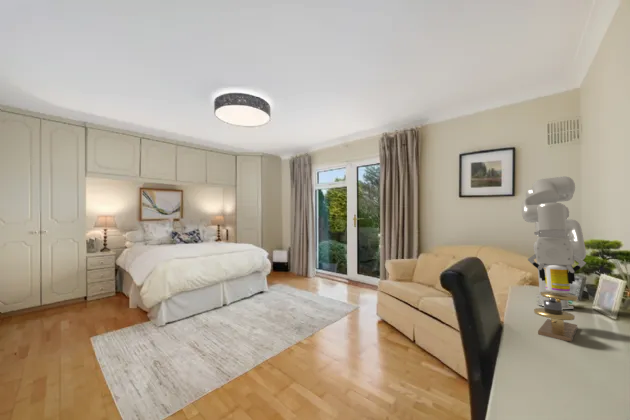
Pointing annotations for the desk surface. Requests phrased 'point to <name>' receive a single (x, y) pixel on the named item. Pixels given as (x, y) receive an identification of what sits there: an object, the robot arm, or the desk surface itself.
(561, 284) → the supplement bottle
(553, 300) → the balance
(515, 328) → the desk surface
